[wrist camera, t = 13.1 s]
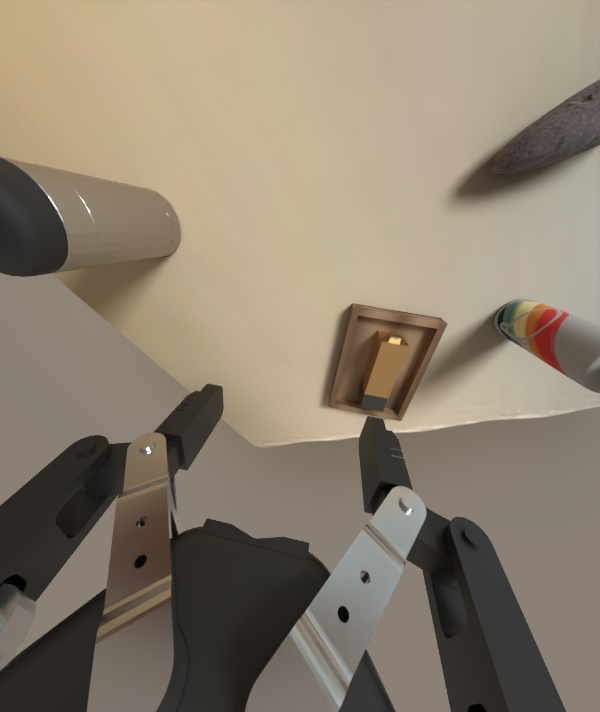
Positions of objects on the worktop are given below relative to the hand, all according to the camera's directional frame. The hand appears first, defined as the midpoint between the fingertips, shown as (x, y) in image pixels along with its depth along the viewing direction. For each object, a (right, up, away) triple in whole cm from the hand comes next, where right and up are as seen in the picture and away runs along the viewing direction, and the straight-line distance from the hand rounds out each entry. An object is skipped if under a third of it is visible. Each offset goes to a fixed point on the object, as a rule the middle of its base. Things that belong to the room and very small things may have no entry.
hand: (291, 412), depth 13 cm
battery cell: (+15, +1, +28) cm, 32 cm away
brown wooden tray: (+15, +2, +29) cm, 32 cm away
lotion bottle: (+33, +9, +22) cm, 41 cm away
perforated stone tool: (+29, +28, +13) cm, 42 cm away
